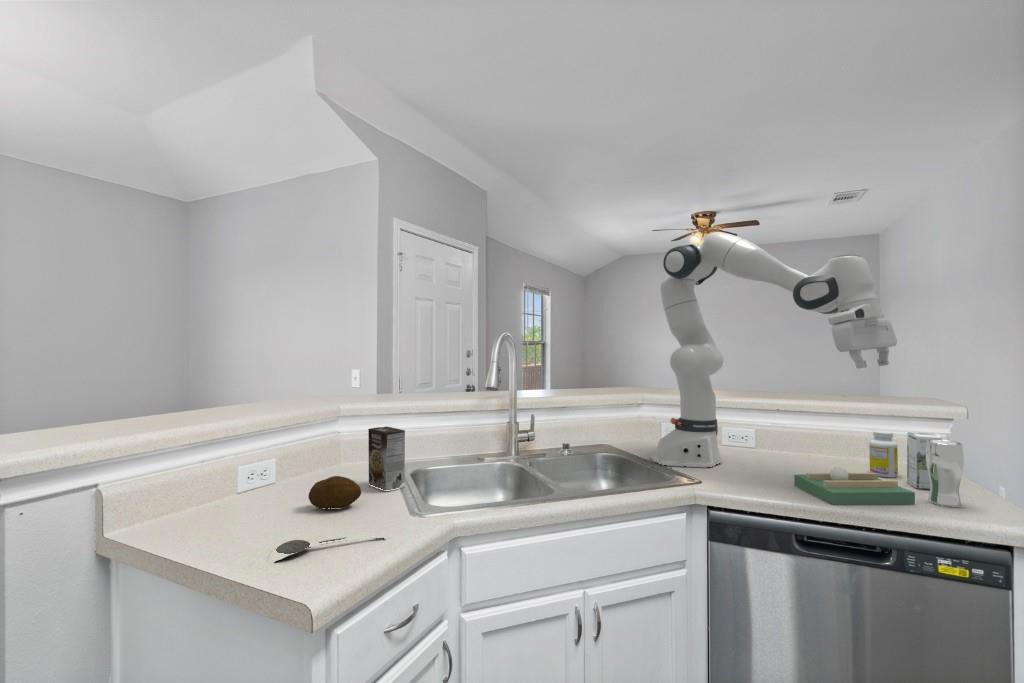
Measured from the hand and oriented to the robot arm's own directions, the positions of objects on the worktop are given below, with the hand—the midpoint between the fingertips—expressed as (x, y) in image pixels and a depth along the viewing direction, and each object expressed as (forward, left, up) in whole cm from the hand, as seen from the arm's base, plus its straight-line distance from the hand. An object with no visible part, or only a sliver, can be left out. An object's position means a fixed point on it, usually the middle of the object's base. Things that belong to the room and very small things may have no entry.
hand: (873, 366), depth 124 cm
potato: (-136, -7, -34) cm, 140 cm away
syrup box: (+19, +8, -33) cm, 39 cm away
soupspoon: (-128, -30, -34) cm, 136 cm away
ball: (-8, +2, -28) cm, 29 cm away
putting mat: (-5, +2, -33) cm, 34 cm away
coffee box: (-128, +10, -34) cm, 132 cm away
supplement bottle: (+17, +20, -33) cm, 43 cm away
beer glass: (+13, -5, -33) cm, 36 cm away
